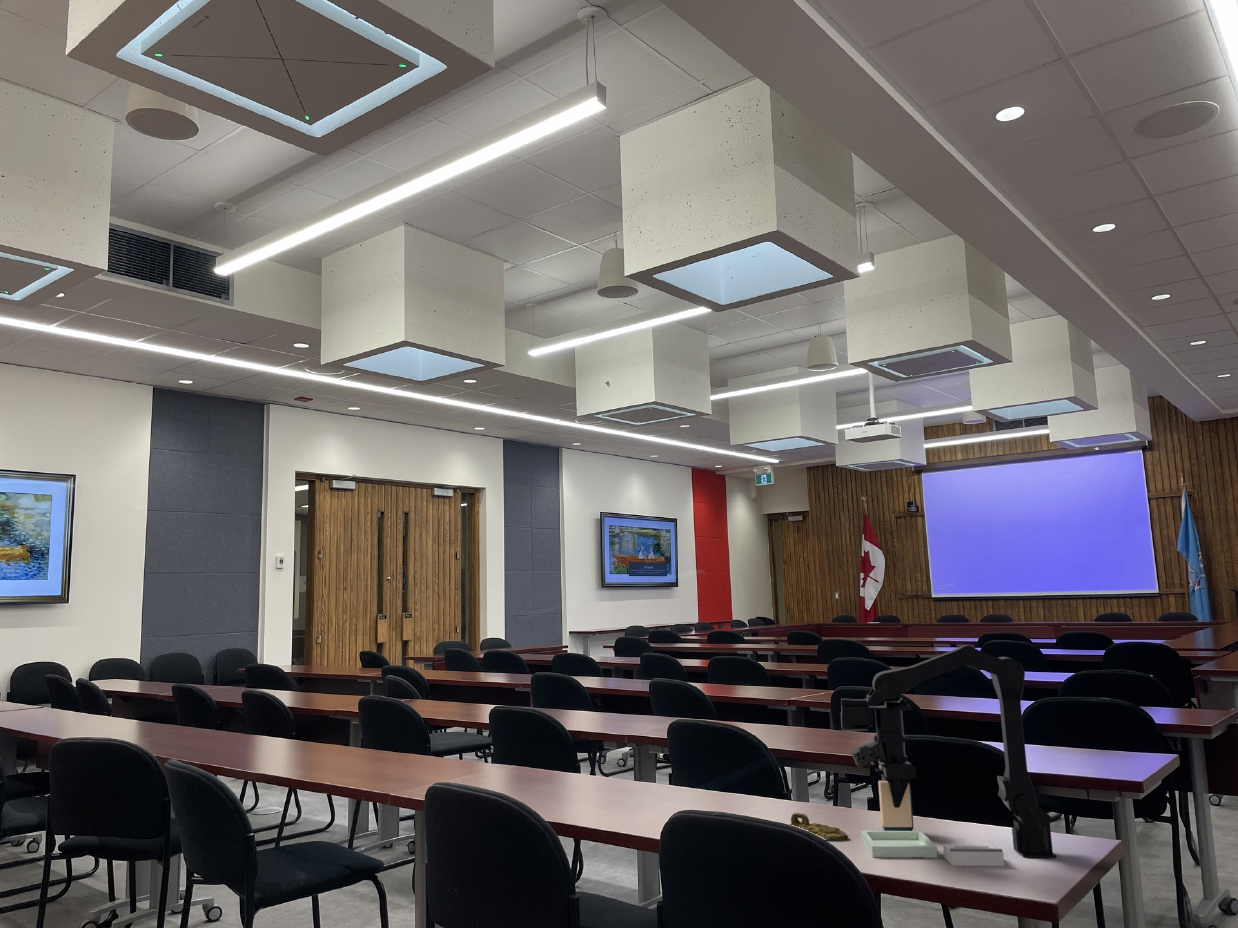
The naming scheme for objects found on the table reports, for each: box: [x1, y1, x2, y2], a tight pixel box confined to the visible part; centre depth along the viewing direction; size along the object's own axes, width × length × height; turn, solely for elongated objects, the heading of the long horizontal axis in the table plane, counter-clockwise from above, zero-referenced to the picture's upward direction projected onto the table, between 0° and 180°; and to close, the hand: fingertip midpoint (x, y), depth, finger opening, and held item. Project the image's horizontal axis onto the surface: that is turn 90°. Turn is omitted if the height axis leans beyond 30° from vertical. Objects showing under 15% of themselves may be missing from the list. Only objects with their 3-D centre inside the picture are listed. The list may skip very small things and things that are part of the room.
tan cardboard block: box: [877, 780, 912, 828], centre depth 186 cm, size 6×2×9 cm, turn 84°
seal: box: [789, 812, 849, 842], centre depth 197 cm, size 9×5×15 cm
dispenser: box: [942, 843, 1005, 867], centre depth 174 cm, size 10×6×3 cm, turn 84°
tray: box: [860, 830, 938, 859], centre depth 184 cm, size 13×13×2 cm
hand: (895, 805), depth 186 cm, fingers closed on tan cardboard block, 2 cm apart
